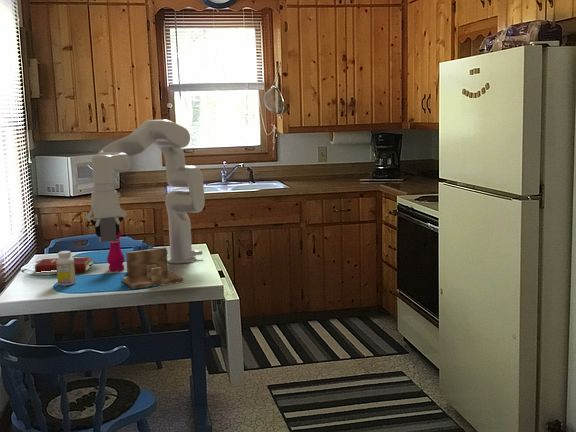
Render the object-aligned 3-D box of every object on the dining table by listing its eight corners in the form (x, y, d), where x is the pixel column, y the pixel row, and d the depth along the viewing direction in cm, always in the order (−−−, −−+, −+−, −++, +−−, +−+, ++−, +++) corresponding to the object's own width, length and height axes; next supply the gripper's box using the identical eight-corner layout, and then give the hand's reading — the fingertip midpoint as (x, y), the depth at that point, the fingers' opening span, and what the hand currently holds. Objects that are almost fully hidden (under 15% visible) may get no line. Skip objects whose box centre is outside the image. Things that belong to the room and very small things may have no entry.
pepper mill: (120, 271, 289) (117, 224, 286) (104, 271, 290) (101, 224, 287) (128, 267, 296) (125, 221, 293) (112, 267, 297) (109, 221, 294)
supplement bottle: (67, 281, 276) (65, 249, 273) (79, 282, 272) (77, 251, 270) (54, 285, 270) (51, 252, 268) (66, 286, 266) (63, 254, 264)
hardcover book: (86, 272, 291) (85, 262, 290) (35, 274, 290) (34, 264, 289) (92, 266, 303) (91, 256, 302) (43, 267, 301) (42, 258, 301)
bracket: (115, 239, 262) (113, 215, 260) (116, 240, 260) (115, 216, 258) (99, 241, 259) (97, 217, 258) (100, 242, 257) (99, 218, 255)
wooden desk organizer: (170, 274, 283) (169, 246, 281) (183, 281, 270) (181, 253, 268) (122, 280, 274) (120, 252, 272) (133, 289, 261) (131, 259, 259)
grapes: (157, 268, 294) (156, 240, 292) (155, 272, 287) (154, 243, 285) (130, 269, 293) (128, 241, 291) (127, 273, 287) (125, 244, 285)
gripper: (124, 185, 263) (127, 231, 266) (78, 188, 255) (82, 236, 258) (130, 187, 257) (133, 234, 260) (82, 191, 249) (86, 239, 252)
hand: (107, 235), depth 259 cm, fingers closed on bracket, 6 cm apart
